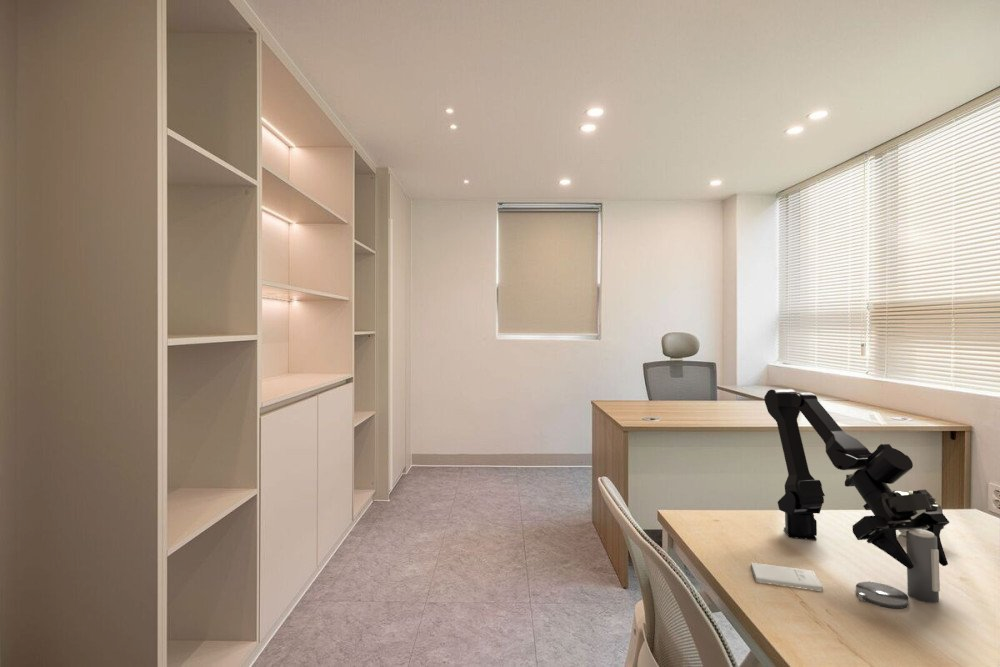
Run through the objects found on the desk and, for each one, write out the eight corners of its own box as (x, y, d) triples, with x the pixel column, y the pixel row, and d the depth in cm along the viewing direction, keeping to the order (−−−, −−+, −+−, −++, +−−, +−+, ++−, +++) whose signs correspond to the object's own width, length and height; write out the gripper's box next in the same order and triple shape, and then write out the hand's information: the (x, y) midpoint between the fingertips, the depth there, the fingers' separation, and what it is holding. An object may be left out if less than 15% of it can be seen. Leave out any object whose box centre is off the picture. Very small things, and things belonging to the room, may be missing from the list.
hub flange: (879, 585, 105) (879, 580, 105) (920, 606, 96) (919, 599, 96) (842, 590, 103) (841, 584, 103) (880, 611, 95) (880, 604, 95)
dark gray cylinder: (901, 592, 102) (899, 528, 102) (921, 590, 103) (919, 527, 103) (927, 605, 97) (925, 538, 97) (948, 603, 97) (946, 536, 98)
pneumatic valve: (936, 546, 125) (935, 498, 125) (882, 532, 135) (880, 487, 135) (945, 541, 128) (943, 495, 128) (890, 527, 138) (889, 484, 138)
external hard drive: (750, 568, 114) (812, 576, 110) (756, 584, 106) (823, 594, 102) (750, 561, 114) (812, 569, 110) (756, 577, 107) (822, 586, 102)
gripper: (862, 477, 103) (916, 552, 92) (938, 473, 106) (999, 546, 95) (832, 504, 111) (878, 576, 99) (904, 499, 113) (957, 569, 102)
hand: (929, 566), depth 99 cm, fingers open, 8 cm apart
